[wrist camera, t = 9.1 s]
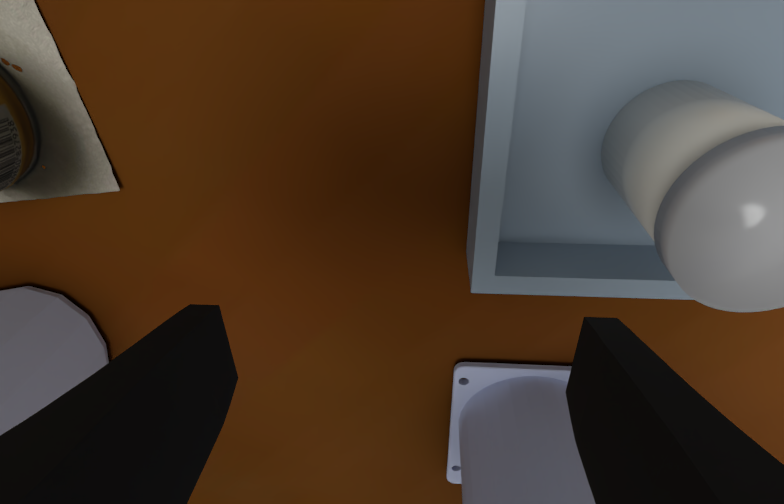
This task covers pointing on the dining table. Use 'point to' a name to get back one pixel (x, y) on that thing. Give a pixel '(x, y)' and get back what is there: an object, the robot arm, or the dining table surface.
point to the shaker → (705, 190)
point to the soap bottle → (42, 351)
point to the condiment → (43, 117)
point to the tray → (592, 131)
